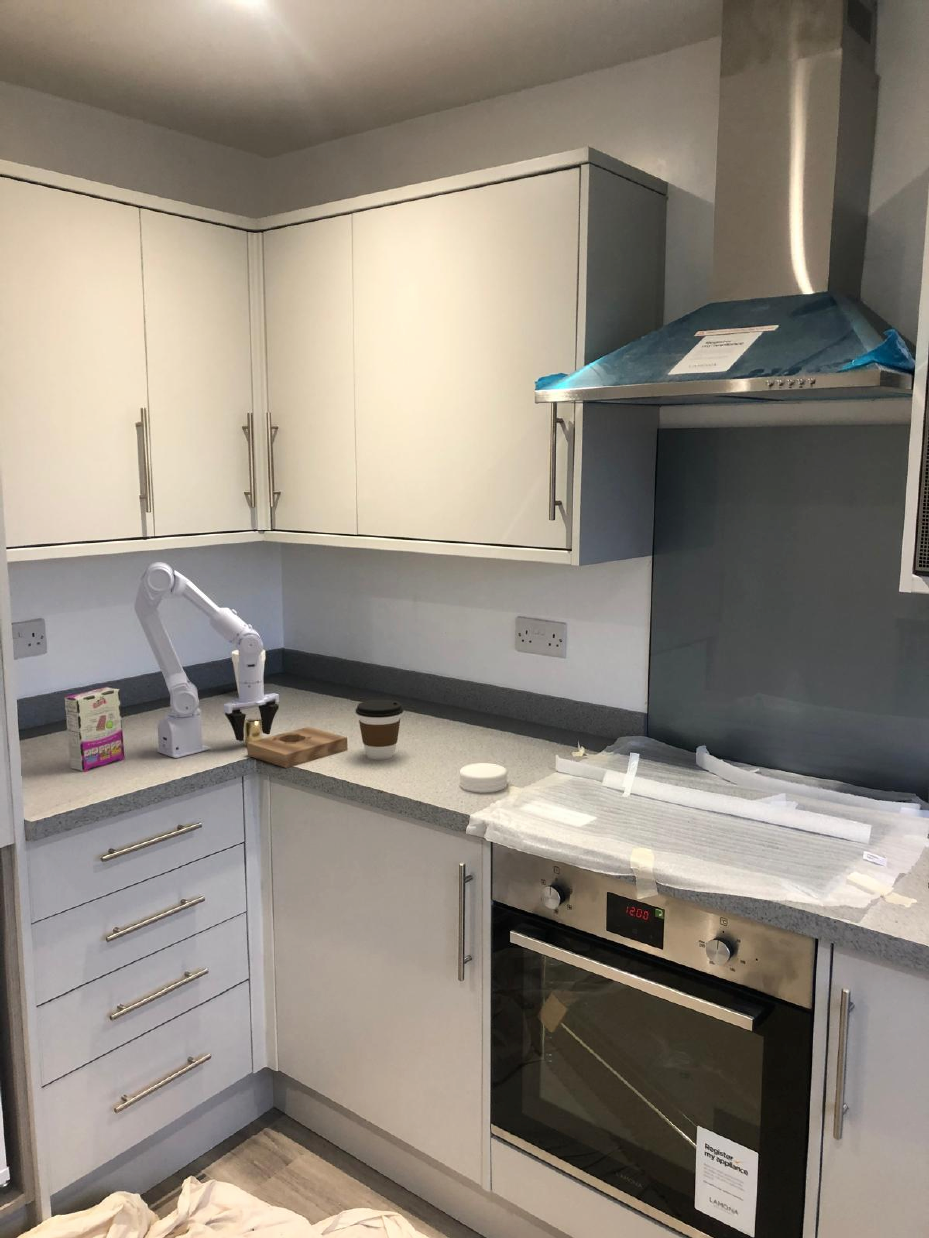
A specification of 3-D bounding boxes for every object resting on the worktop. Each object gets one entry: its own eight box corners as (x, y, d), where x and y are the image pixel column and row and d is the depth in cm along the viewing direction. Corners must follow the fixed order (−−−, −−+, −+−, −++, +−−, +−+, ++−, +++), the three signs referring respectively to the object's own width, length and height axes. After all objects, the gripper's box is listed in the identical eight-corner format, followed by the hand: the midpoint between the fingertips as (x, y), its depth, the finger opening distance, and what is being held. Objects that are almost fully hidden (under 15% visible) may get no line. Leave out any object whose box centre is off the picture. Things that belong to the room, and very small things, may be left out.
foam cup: (273, 693, 282) (271, 649, 280) (255, 701, 273) (253, 655, 271) (245, 691, 285) (243, 647, 283) (226, 698, 277) (224, 653, 275)
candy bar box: (110, 755, 222) (106, 686, 220) (125, 759, 220) (121, 688, 217) (68, 768, 213) (63, 696, 210) (82, 772, 210) (78, 699, 208)
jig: (285, 767, 213) (285, 754, 213) (247, 755, 223) (247, 742, 222) (347, 749, 227) (347, 737, 226) (308, 738, 236) (308, 726, 235)
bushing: (251, 748, 228) (250, 723, 227) (241, 745, 231) (240, 720, 230) (265, 744, 231) (264, 720, 230) (255, 741, 234) (254, 717, 233)
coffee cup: (401, 747, 229) (400, 697, 227) (406, 761, 218) (406, 709, 216) (354, 749, 227) (353, 699, 225) (357, 764, 216) (356, 711, 214)
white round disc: (497, 796, 196) (497, 779, 195) (451, 790, 199) (451, 773, 199) (514, 781, 205) (514, 765, 204) (470, 775, 208) (470, 760, 208)
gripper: (235, 688, 220) (237, 746, 223) (286, 678, 231) (288, 733, 233) (217, 684, 225) (219, 740, 227) (267, 674, 236) (269, 728, 238)
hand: (253, 736), depth 231 cm, fingers open, 7 cm apart
